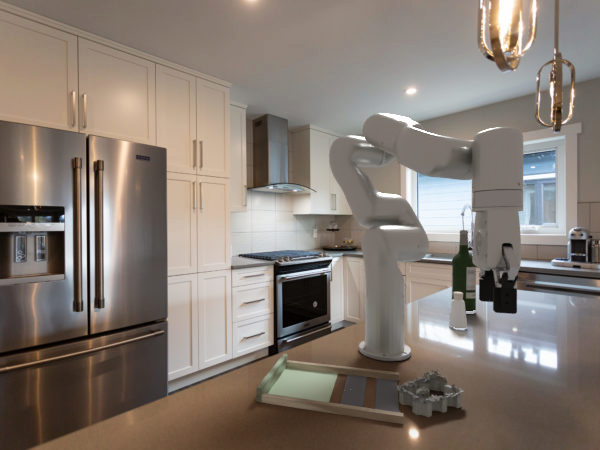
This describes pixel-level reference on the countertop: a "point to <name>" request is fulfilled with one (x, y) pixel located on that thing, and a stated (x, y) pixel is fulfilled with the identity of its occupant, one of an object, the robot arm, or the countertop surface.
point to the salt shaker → (458, 311)
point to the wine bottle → (464, 273)
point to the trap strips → (384, 393)
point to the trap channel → (322, 406)
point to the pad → (305, 384)
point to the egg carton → (420, 398)
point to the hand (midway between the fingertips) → (496, 306)
